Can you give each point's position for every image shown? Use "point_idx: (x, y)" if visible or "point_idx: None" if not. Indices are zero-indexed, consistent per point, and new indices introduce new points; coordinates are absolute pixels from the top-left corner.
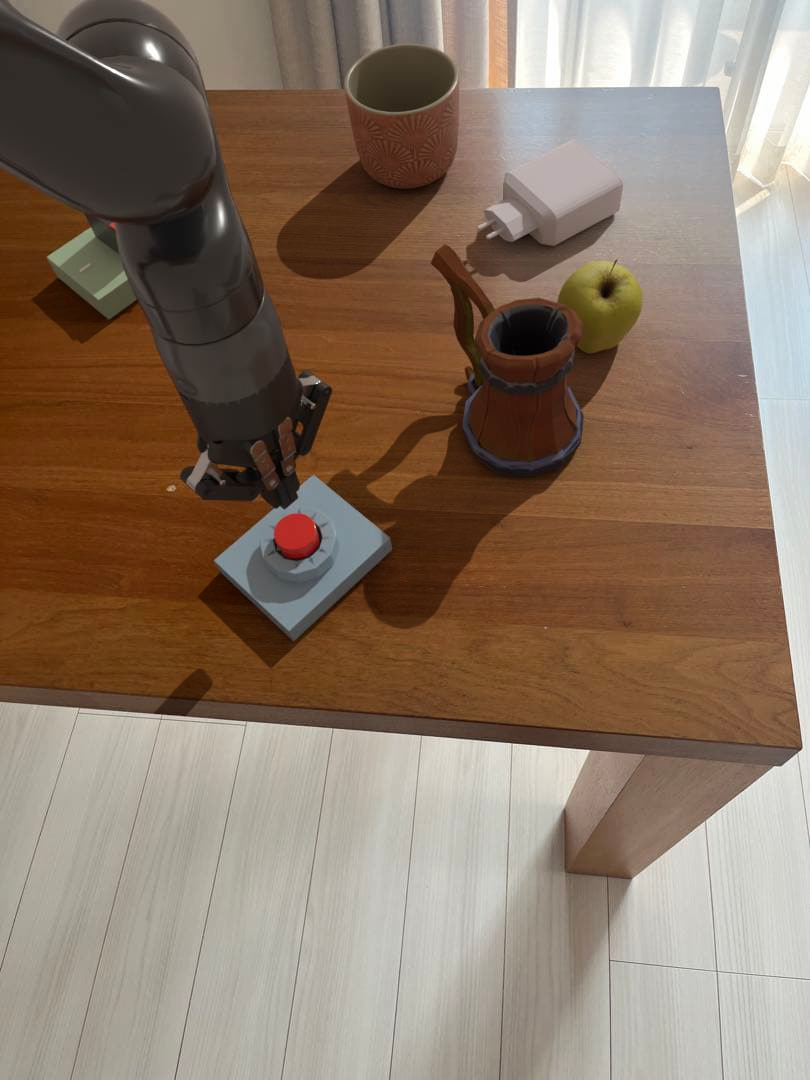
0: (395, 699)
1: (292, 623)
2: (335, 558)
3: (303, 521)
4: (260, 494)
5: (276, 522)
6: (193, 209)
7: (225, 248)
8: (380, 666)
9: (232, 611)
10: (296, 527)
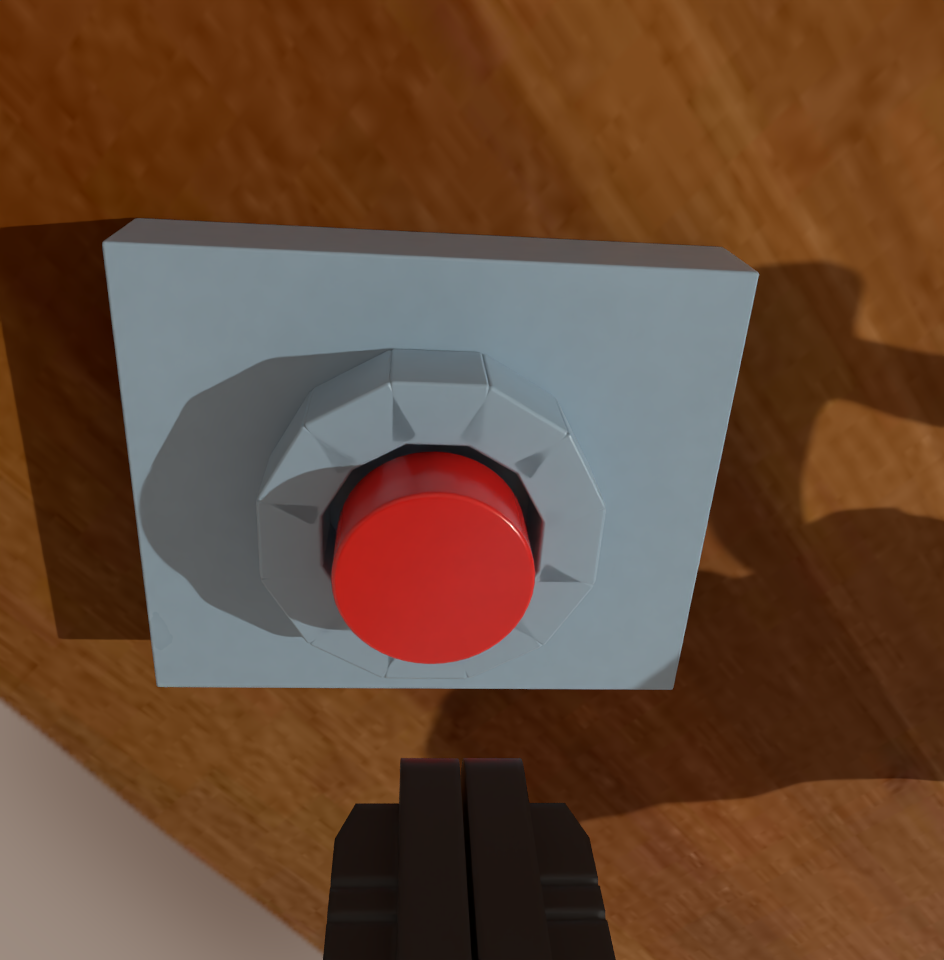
0: (285, 899)
1: (186, 676)
2: None
3: (499, 577)
4: (332, 870)
5: (429, 418)
6: None
7: None
8: (323, 829)
9: (71, 394)
10: (453, 579)
